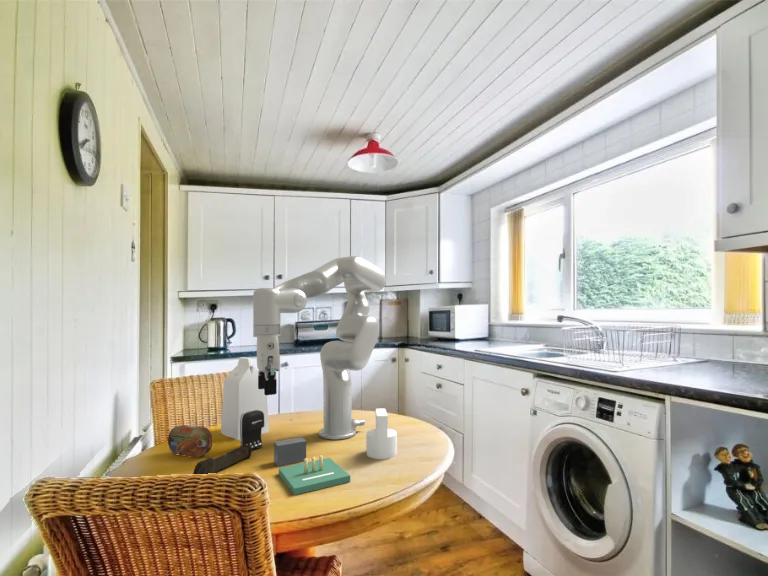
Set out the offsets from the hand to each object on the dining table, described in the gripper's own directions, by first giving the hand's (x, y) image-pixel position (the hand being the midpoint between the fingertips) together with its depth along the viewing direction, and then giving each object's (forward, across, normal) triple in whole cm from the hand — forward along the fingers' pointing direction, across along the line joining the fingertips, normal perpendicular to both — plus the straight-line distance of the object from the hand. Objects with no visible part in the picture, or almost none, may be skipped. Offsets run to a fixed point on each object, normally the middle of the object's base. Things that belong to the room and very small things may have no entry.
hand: (267, 391), depth 113 cm
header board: (+19, -17, -8) cm, 27 cm away
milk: (+20, +31, +2) cm, 37 cm away
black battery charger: (+20, +12, +2) cm, 23 cm away
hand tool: (+20, 0, +11) cm, 23 cm away
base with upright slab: (+20, -11, -31) cm, 38 cm away
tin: (+20, +16, +19) cm, 32 cm away
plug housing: (+19, -4, -6) cm, 20 cm away
